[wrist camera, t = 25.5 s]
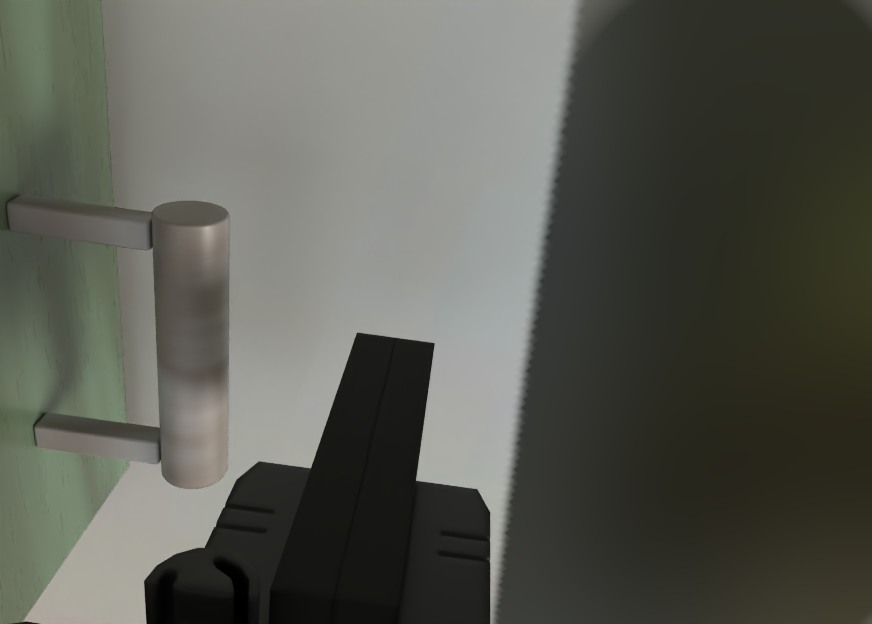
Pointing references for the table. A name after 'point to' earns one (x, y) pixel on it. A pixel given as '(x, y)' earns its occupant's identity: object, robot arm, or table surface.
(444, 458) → the table surface
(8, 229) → the drawer
